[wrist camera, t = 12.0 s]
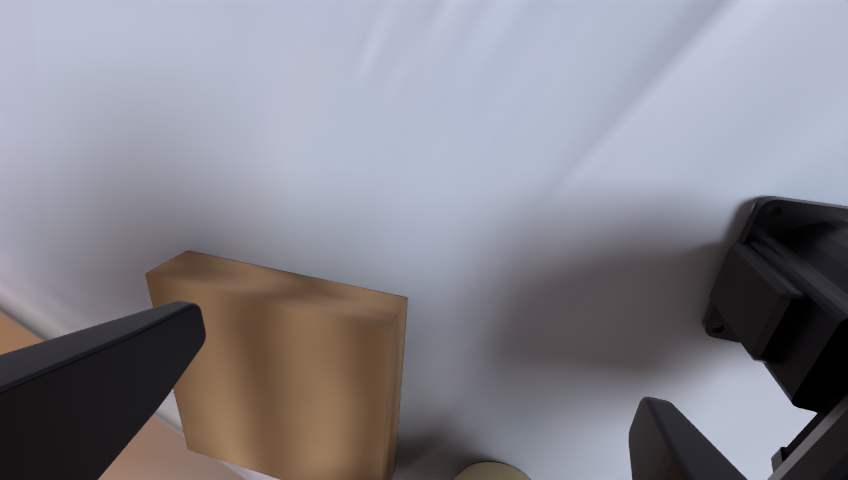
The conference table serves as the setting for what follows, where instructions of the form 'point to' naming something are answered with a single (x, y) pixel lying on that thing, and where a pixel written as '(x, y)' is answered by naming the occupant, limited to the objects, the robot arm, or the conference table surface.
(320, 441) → the stand
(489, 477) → the flower pot
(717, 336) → the robot arm
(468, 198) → the conference table surface
